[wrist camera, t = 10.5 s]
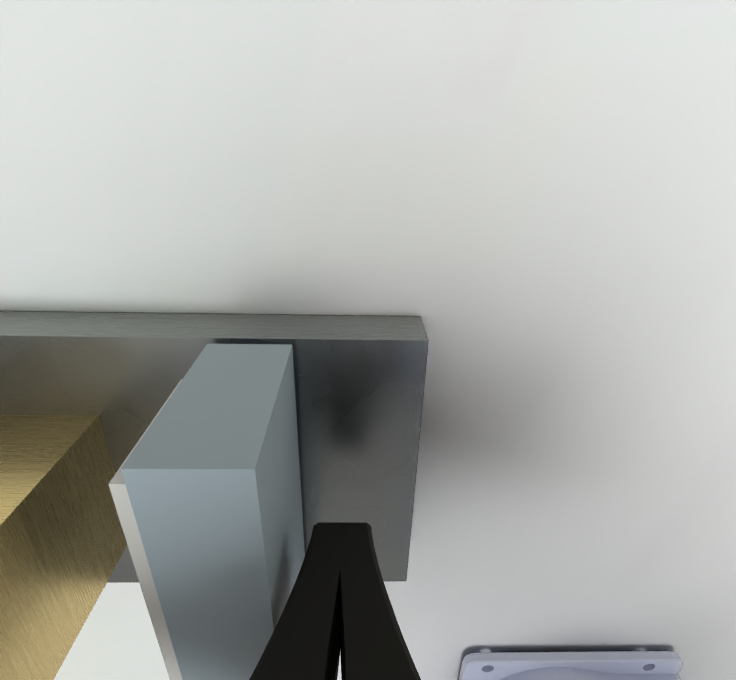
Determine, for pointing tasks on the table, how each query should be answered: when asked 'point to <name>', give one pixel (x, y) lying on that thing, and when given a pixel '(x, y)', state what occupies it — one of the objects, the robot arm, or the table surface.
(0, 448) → the brass block
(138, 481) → the sliding jaw
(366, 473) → the vise
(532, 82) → the table surface
